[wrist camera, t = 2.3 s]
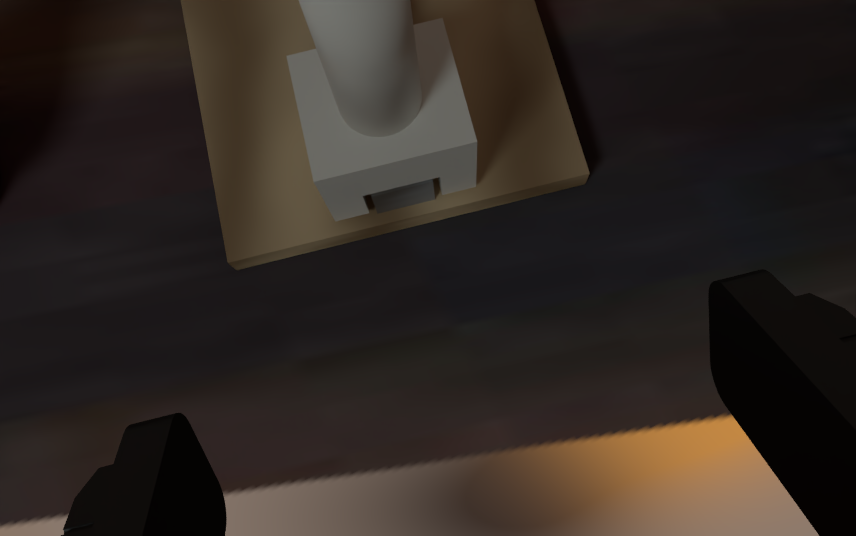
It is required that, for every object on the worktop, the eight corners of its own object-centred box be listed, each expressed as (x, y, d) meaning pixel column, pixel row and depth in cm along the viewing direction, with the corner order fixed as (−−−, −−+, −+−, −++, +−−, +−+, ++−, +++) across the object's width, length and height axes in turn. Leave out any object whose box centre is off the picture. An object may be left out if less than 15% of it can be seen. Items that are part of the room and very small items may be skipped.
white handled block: (335, 221, 30) (235, 40, 17) (310, 111, 31) (201, -136, 19) (476, 186, 30) (481, -20, 17) (445, 77, 32) (430, -191, 19)
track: (236, 270, 32) (182, 224, 26) (175, -67, 36) (116, -173, 30) (585, 184, 32) (612, 118, 26) (482, -141, 36) (485, -262, 30)
